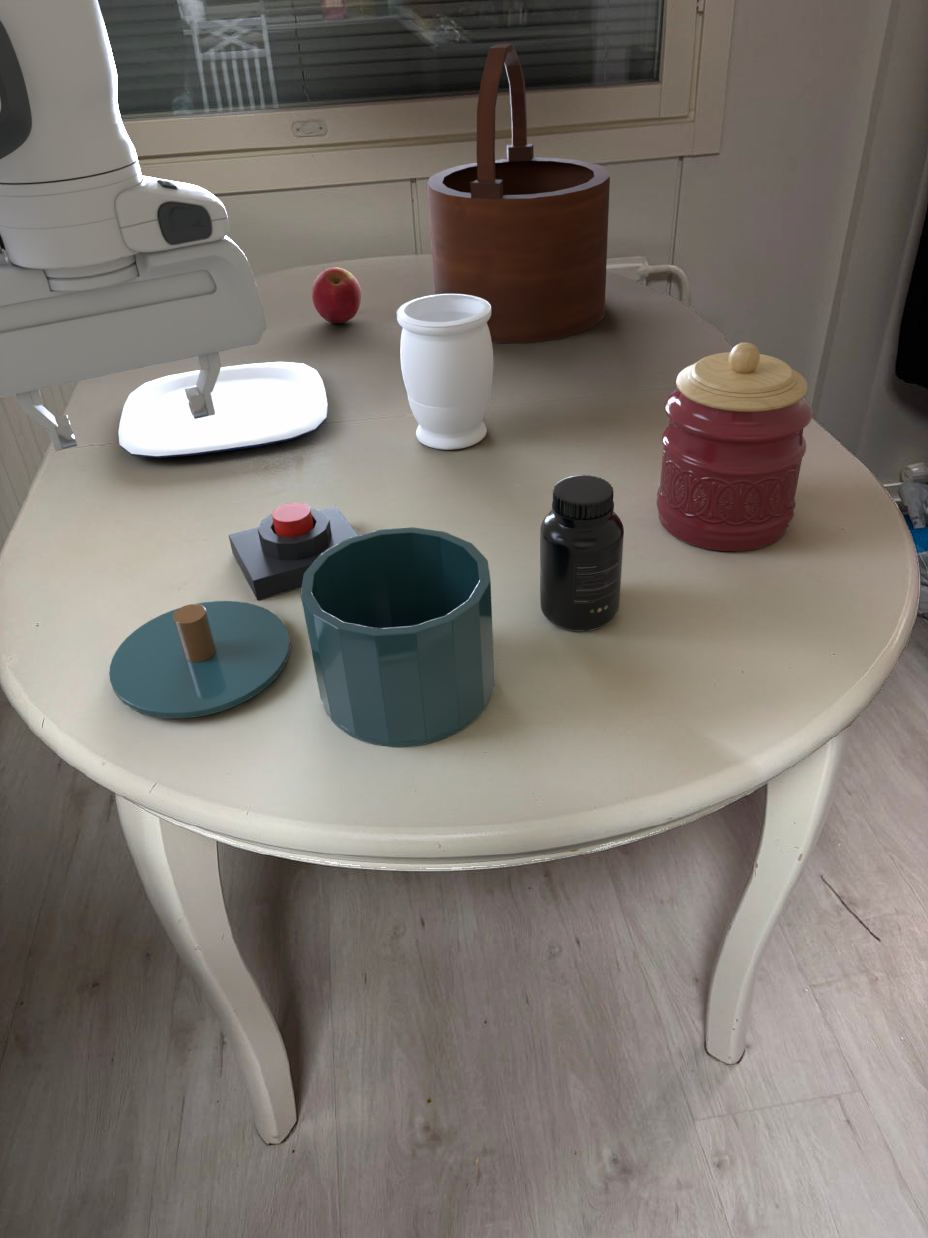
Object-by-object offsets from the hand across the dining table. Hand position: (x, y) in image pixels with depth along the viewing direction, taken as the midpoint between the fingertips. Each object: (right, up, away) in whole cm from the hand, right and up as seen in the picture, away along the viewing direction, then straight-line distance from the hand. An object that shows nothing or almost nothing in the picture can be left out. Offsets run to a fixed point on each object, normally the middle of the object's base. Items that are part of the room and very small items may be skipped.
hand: (136, 429), depth 64 cm
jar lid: (+1, -16, +12) cm, 21 cm away
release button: (+7, -5, +22) cm, 24 cm away
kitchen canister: (+48, -3, +27) cm, 55 cm away
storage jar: (+18, -18, +9) cm, 28 cm away
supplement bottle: (+33, -13, +16) cm, 39 cm away
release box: (+7, -7, +25) cm, 27 cm away
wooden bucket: (+31, +34, +78) cm, 90 cm away
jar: (+21, +8, +45) cm, 50 cm away
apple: (+4, +33, +78) cm, 85 cm away
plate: (-7, +12, +52) cm, 54 cm away
